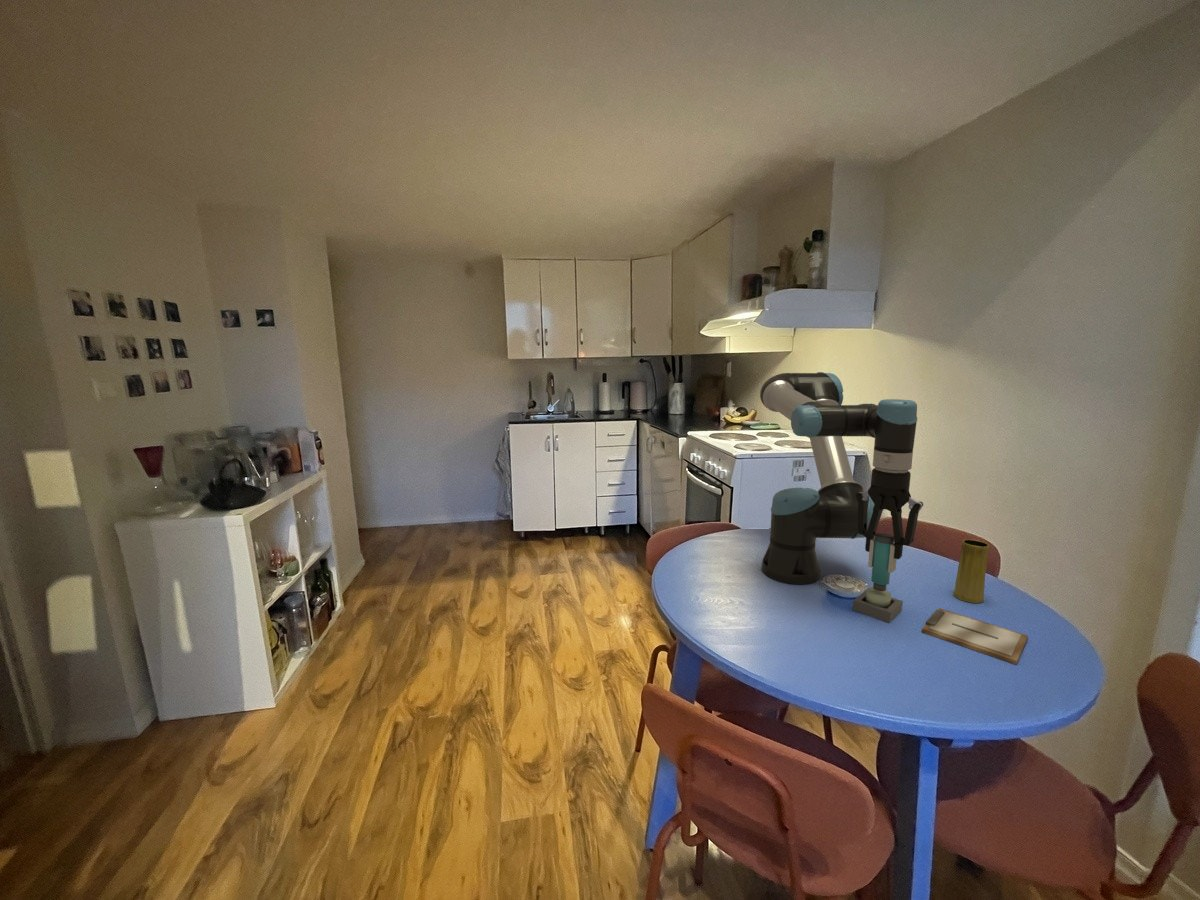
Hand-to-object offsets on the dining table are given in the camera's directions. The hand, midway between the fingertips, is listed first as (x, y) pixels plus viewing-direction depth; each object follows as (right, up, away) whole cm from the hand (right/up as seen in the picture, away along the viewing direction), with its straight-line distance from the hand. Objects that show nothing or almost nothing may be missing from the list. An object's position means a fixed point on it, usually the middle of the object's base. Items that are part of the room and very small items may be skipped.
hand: (881, 567), depth 115 cm
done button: (0, -9, +2) cm, 9 cm away
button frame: (0, -10, +2) cm, 11 cm away
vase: (+26, -9, +8) cm, 29 cm away
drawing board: (+15, -12, -9) cm, 21 cm away
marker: (0, -5, +1) cm, 5 cm away
